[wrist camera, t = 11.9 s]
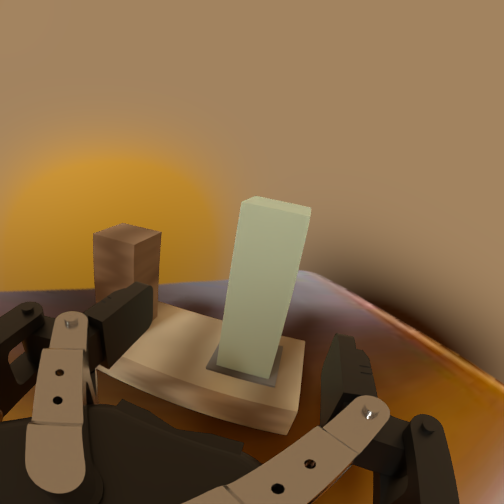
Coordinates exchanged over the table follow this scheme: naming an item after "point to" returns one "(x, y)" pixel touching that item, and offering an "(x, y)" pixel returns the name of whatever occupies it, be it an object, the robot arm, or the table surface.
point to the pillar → (261, 283)
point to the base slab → (190, 345)
